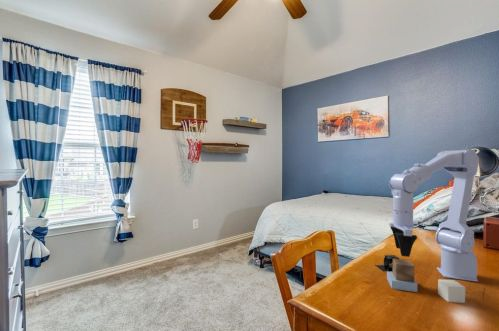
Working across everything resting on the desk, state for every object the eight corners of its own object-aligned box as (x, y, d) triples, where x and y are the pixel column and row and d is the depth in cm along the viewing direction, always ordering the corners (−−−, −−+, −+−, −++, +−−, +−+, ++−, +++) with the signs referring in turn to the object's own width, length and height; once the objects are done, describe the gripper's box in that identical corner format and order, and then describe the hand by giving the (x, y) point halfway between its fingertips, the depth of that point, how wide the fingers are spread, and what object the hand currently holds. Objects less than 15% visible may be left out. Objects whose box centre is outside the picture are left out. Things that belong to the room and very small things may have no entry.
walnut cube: (409, 275, 84) (409, 260, 84) (414, 282, 79) (414, 266, 79) (392, 273, 86) (392, 258, 86) (396, 279, 81) (396, 264, 81)
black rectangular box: (380, 274, 92) (380, 260, 92) (369, 265, 100) (369, 253, 100) (415, 273, 93) (415, 259, 93) (401, 264, 101) (401, 252, 101)
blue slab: (410, 283, 85) (410, 274, 85) (417, 293, 78) (417, 283, 78) (386, 280, 87) (387, 271, 87) (391, 289, 81) (391, 280, 81)
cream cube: (453, 294, 77) (454, 279, 77) (465, 303, 73) (465, 287, 73) (437, 294, 78) (438, 279, 77) (448, 302, 73) (448, 286, 73)
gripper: (385, 206, 92) (385, 243, 92) (393, 214, 78) (392, 258, 78) (408, 207, 89) (407, 246, 90) (420, 215, 76) (419, 261, 76)
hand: (402, 252), depth 84 cm, fingers open, 7 cm apart
